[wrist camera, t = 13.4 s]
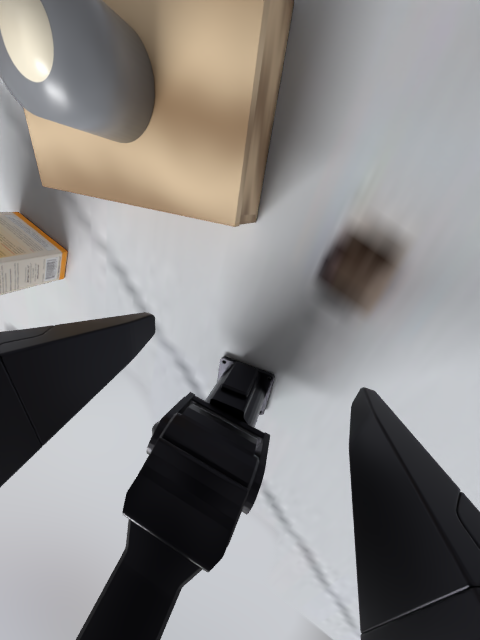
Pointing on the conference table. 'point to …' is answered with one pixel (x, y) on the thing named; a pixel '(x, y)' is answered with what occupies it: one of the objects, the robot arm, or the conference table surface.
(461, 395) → the conference table surface
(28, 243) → the supplement box
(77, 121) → the grey cylinder cream end
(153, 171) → the lid
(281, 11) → the kraft box
